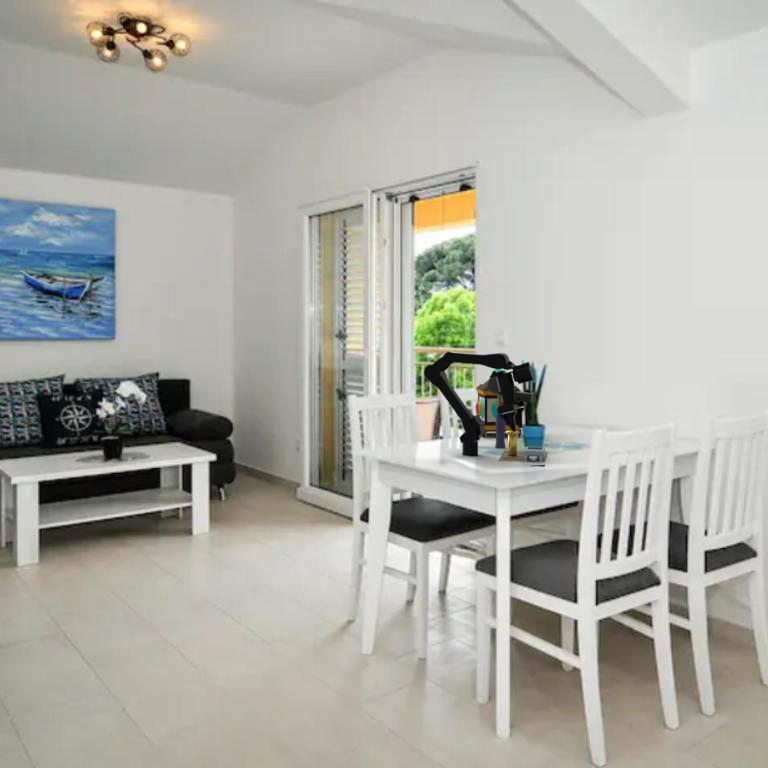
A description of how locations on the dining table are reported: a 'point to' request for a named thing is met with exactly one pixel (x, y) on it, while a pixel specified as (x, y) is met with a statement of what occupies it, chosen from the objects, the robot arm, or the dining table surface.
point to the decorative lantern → (489, 408)
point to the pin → (512, 442)
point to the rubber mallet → (498, 415)
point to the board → (517, 457)
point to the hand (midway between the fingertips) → (517, 429)
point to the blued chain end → (534, 454)
